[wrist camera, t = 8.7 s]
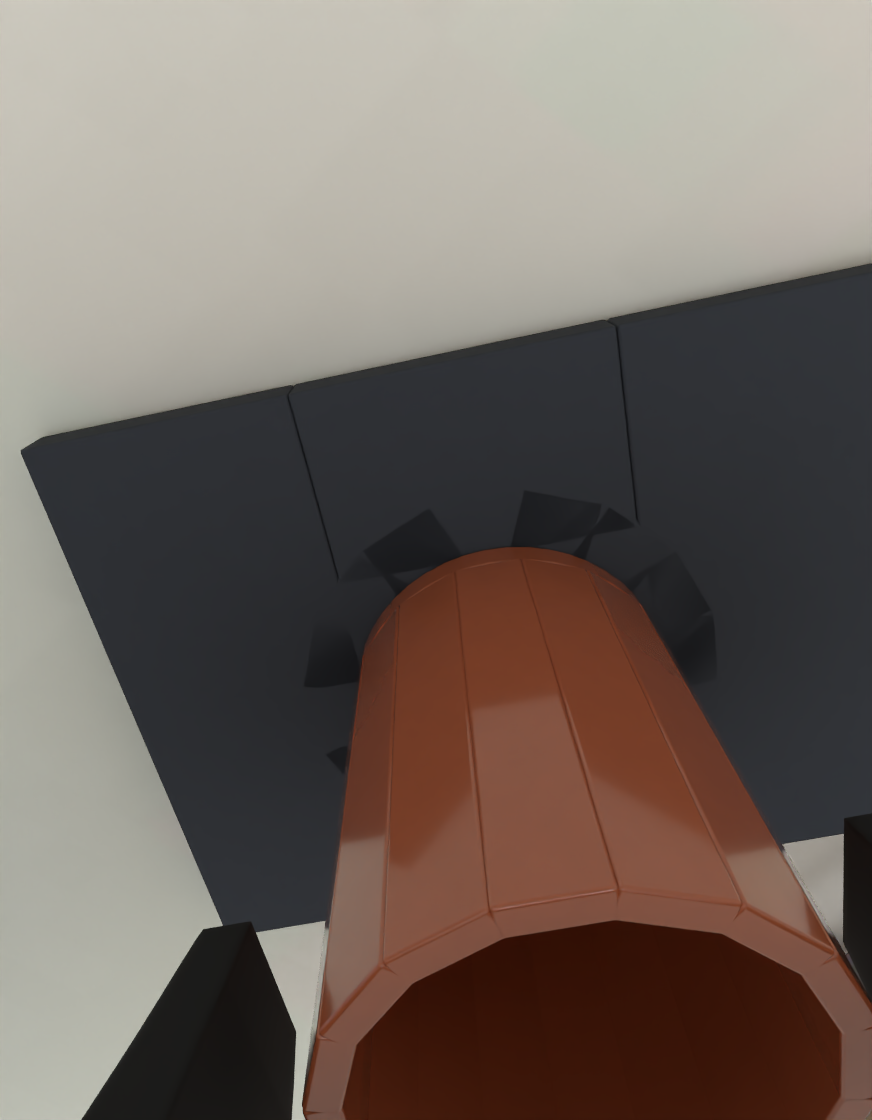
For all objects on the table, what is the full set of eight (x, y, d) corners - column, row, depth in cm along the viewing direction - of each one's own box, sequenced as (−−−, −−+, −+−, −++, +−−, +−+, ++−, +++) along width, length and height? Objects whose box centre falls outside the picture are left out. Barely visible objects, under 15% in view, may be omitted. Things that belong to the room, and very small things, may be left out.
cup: (396, 827, 16) (379, 1295, 9) (324, 579, 14) (230, 951, 7) (674, 779, 16) (877, 1226, 9) (648, 517, 13) (893, 843, 6)
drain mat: (235, 908, 18) (227, 938, 17) (40, 437, 13) (17, 450, 13) (965, 784, 17) (991, 810, 16) (1013, 233, 12) (1049, 234, 12)
